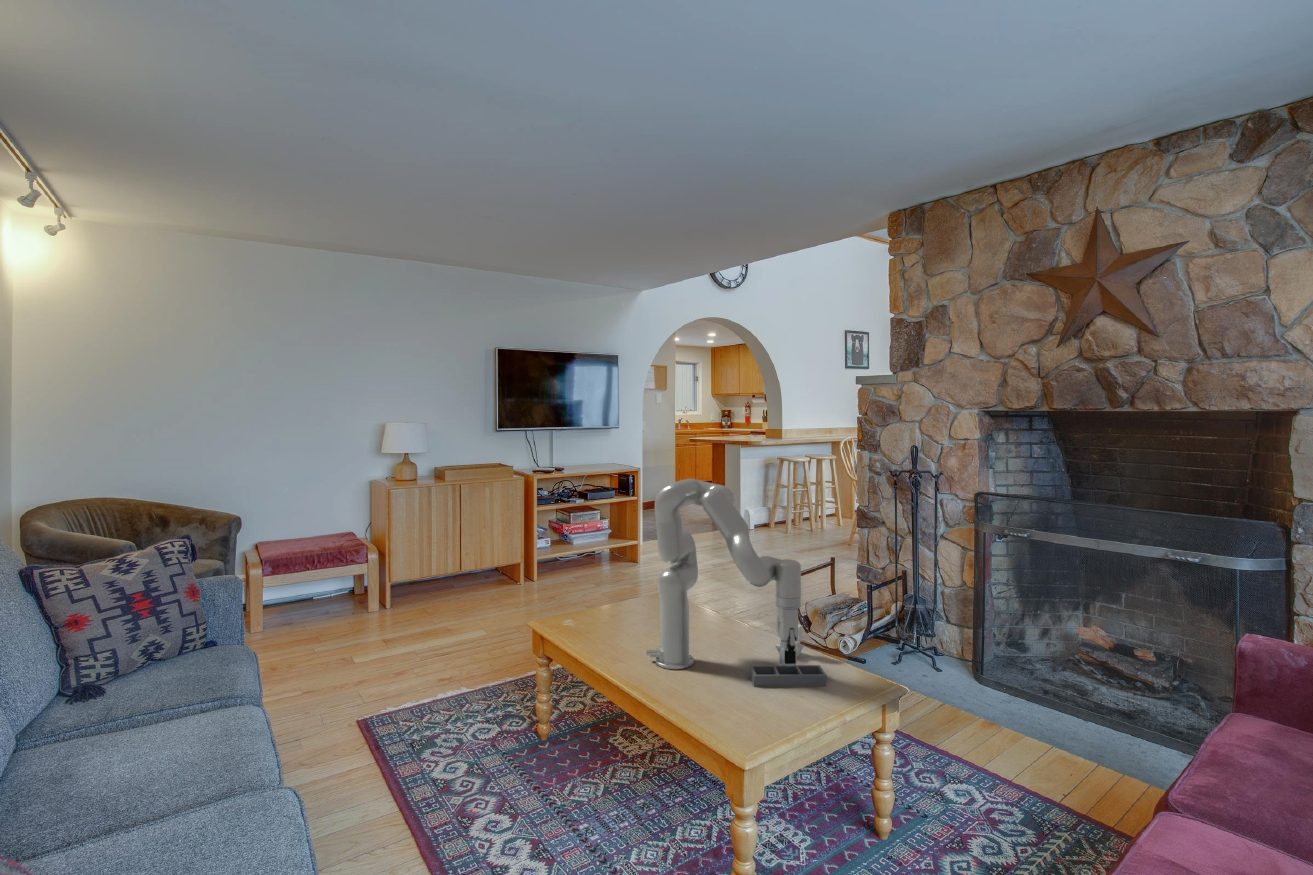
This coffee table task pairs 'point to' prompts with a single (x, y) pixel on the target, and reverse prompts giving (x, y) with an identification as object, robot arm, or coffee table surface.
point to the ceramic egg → (782, 653)
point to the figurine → (798, 645)
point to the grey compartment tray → (787, 675)
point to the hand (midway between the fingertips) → (788, 658)
